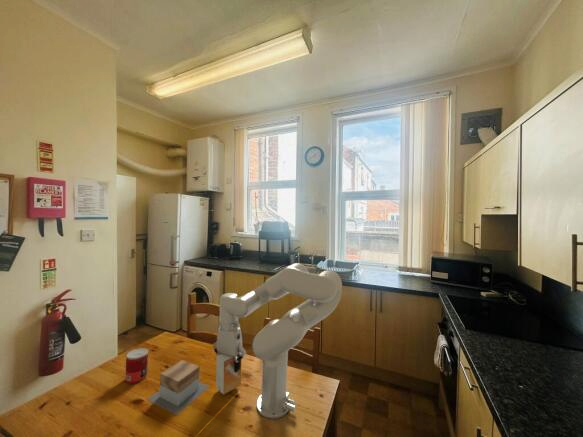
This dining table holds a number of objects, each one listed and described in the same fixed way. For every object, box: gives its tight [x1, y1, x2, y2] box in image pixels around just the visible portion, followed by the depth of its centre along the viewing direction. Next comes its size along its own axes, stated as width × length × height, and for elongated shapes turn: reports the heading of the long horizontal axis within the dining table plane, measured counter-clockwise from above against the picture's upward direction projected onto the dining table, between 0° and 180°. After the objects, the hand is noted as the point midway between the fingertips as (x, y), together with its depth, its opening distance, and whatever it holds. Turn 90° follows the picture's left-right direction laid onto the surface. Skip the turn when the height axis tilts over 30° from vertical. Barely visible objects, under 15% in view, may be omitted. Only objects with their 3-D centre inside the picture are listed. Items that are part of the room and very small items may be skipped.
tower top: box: [159, 359, 200, 394], centre depth 93 cm, size 10×10×4 cm
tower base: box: [159, 377, 200, 406], centre depth 93 cm, size 10×10×4 cm
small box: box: [215, 352, 242, 396], centre depth 96 cm, size 8×6×13 cm
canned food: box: [124, 347, 149, 385], centre depth 101 cm, size 8×8×11 cm
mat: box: [146, 381, 210, 416], centre depth 93 cm, size 16×16×1 cm
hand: (228, 367), depth 96 cm, fingers closed on small box, 8 cm apart
